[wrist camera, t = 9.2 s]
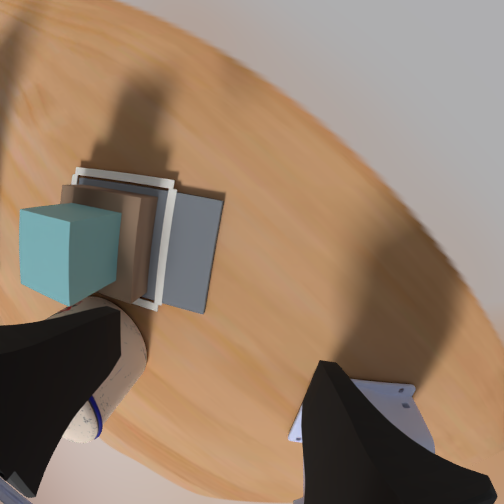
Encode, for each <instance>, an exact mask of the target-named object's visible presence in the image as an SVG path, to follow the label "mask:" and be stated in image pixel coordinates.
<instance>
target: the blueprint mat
mask: <svg viewBox="0 0 504 504" xmlns="http://www.w3.org/2000/svg"><path fill="white" fill-rule="evenodd" d="M78 175H83V176H91V177H98V178H105V179H112V180H119V181H126V182H133V183H139V184H146V185H152V186H158V187H164V188H169V190H168V191H167V190H161V189H155V188H149V187H143V186H136V185H130V184H124V183H117V182H110V181H103V180H96V179H89V178H79V184H78V185H81V184H83V185H90V186H96V187H103V188H109V189H115V190H121V191H127V192H133V193H139V194H145V195H150V196H156V197H158V202H157V208H156V215H155V222H154V229H153V237H152V245H151V254H150V264H149V274H148V285H147V292H146V293H145V294H144V295H142V296H141V297H144V298H147V299H151V300H154V303H153V302H150V301H147V300H144V299H141V298H138V299H137V300H136V301H134V302H133V303H132V304H135V305H138V306H141V307H144V308H147V309H150V310H154V311H158V305H161V306H162V303H164V304H167V305H171V306H174V307H178V308H181V309H185V310H189V311H192V312H196V313H200V314H204V312H205V307H206V300H207V294H208V288H209V282H210V276H211V270H212V264H213V258H214V252H215V247H216V241H217V235H218V230H219V225H220V219H221V214H222V209H223V203H224V201H221V200H216V199H211V198H205V197H200V196H195V195H189V194H184V193H178V192H177V190H176V189H174V183H175V180H170V179H164V178H158V177H151V176H144V175H137V174H130V173H122V172H115V171H107V170H98V169H89V168H80V167H76V172H75V174H73V176H72V183H71V185H77V182H78Z"/></svg>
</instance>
